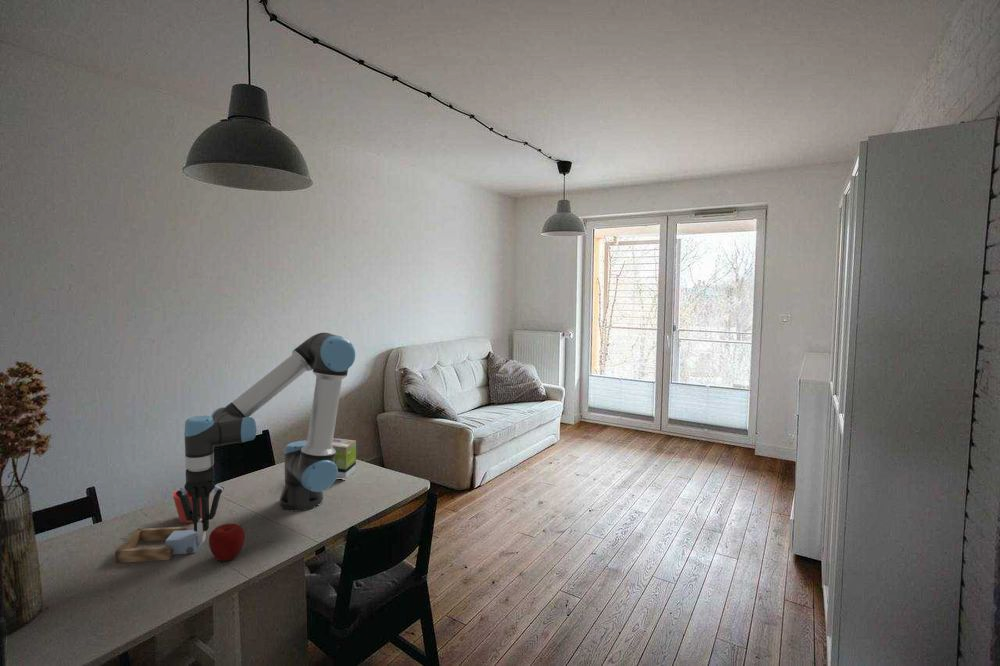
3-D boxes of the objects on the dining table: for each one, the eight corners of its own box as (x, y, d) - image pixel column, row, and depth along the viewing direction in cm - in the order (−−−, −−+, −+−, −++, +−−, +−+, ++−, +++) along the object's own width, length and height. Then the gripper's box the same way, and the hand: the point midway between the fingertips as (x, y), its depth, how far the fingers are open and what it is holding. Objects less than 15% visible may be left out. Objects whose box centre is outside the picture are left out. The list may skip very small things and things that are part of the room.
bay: (188, 536, 165) (187, 526, 164) (169, 559, 152) (169, 548, 151) (139, 539, 162) (138, 528, 162) (115, 562, 149) (115, 551, 149)
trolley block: (203, 541, 162) (202, 528, 162) (194, 554, 155) (193, 540, 155) (175, 543, 161) (174, 529, 160) (165, 555, 154) (164, 541, 153)
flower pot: (177, 513, 180) (176, 487, 179) (212, 509, 184) (212, 483, 183) (171, 527, 170) (170, 499, 169) (209, 522, 174) (208, 495, 173)
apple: (221, 548, 159) (220, 517, 158) (251, 549, 159) (251, 519, 157) (202, 565, 149) (201, 532, 148) (234, 567, 149) (234, 534, 148)
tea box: (312, 477, 215) (312, 443, 214) (324, 468, 225) (324, 436, 223) (345, 481, 213) (346, 446, 211) (356, 472, 223) (356, 439, 221)
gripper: (227, 462, 161) (228, 533, 164) (181, 463, 159) (183, 535, 161) (218, 471, 154) (220, 545, 157) (171, 472, 152) (173, 548, 154)
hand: (201, 540), depth 159 cm, fingers closed
